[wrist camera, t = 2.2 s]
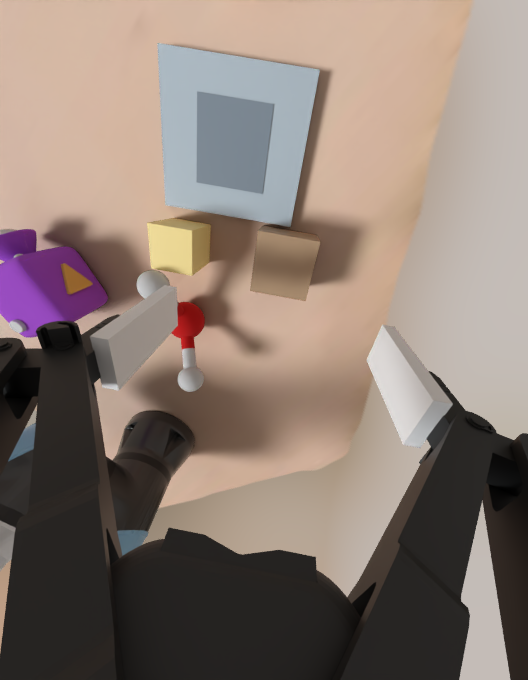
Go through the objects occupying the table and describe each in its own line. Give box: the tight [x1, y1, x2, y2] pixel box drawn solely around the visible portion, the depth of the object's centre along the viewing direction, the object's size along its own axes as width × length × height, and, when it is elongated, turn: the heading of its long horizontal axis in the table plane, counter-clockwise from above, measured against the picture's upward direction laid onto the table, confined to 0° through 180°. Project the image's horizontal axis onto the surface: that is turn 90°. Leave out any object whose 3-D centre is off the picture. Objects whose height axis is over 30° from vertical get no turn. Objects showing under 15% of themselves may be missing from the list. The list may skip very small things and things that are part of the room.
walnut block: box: [250, 225, 320, 301], centre depth 32 cm, size 7×7×6 cm
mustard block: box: [147, 218, 211, 276], centre depth 31 cm, size 5×5×7 cm
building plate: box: [158, 43, 320, 227], centre depth 28 cm, size 14×16×1 cm
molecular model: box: [137, 270, 205, 392], centre depth 36 cm, size 18×6×10 cm, turn 10°
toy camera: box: [0, 229, 108, 337], centre depth 34 cm, size 11×14×10 cm
